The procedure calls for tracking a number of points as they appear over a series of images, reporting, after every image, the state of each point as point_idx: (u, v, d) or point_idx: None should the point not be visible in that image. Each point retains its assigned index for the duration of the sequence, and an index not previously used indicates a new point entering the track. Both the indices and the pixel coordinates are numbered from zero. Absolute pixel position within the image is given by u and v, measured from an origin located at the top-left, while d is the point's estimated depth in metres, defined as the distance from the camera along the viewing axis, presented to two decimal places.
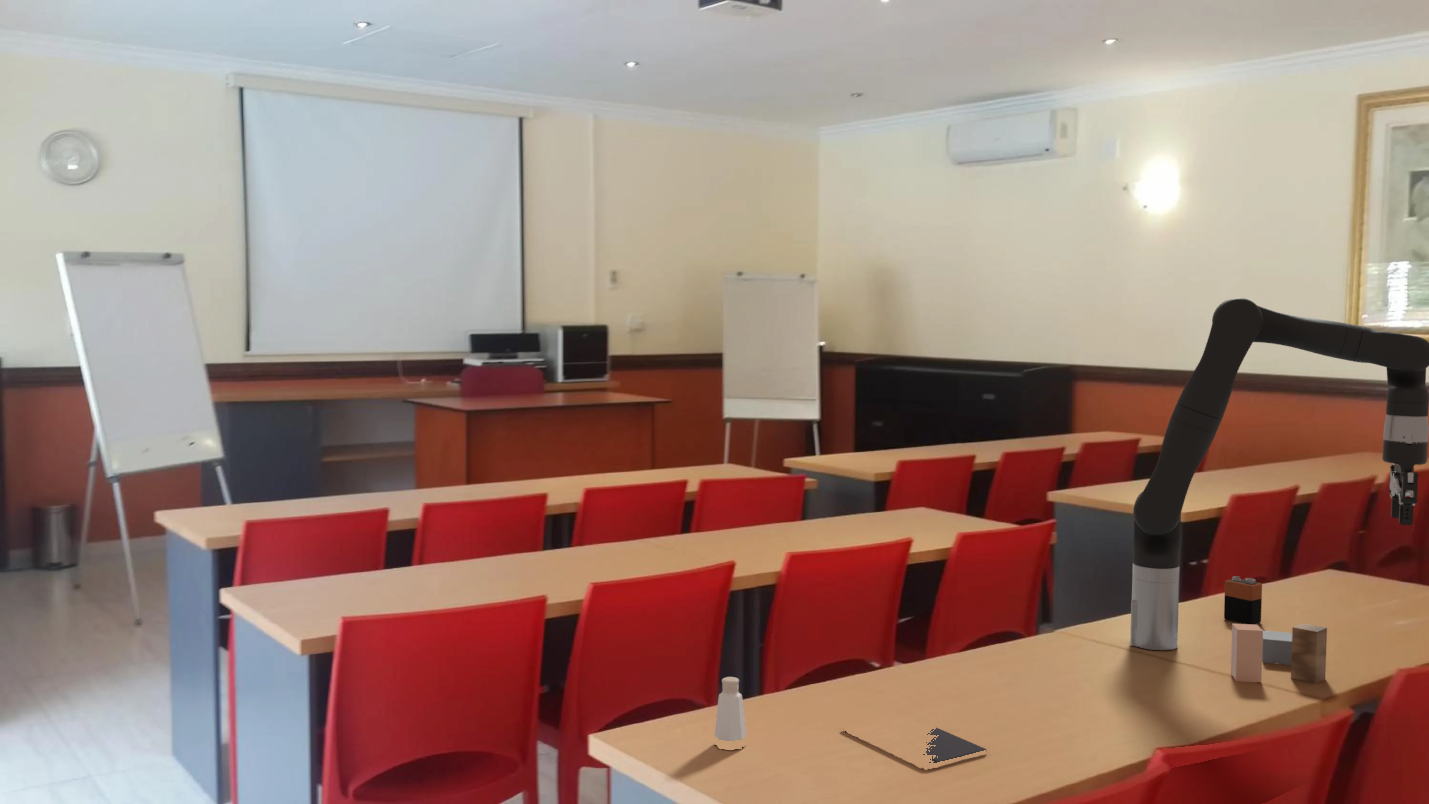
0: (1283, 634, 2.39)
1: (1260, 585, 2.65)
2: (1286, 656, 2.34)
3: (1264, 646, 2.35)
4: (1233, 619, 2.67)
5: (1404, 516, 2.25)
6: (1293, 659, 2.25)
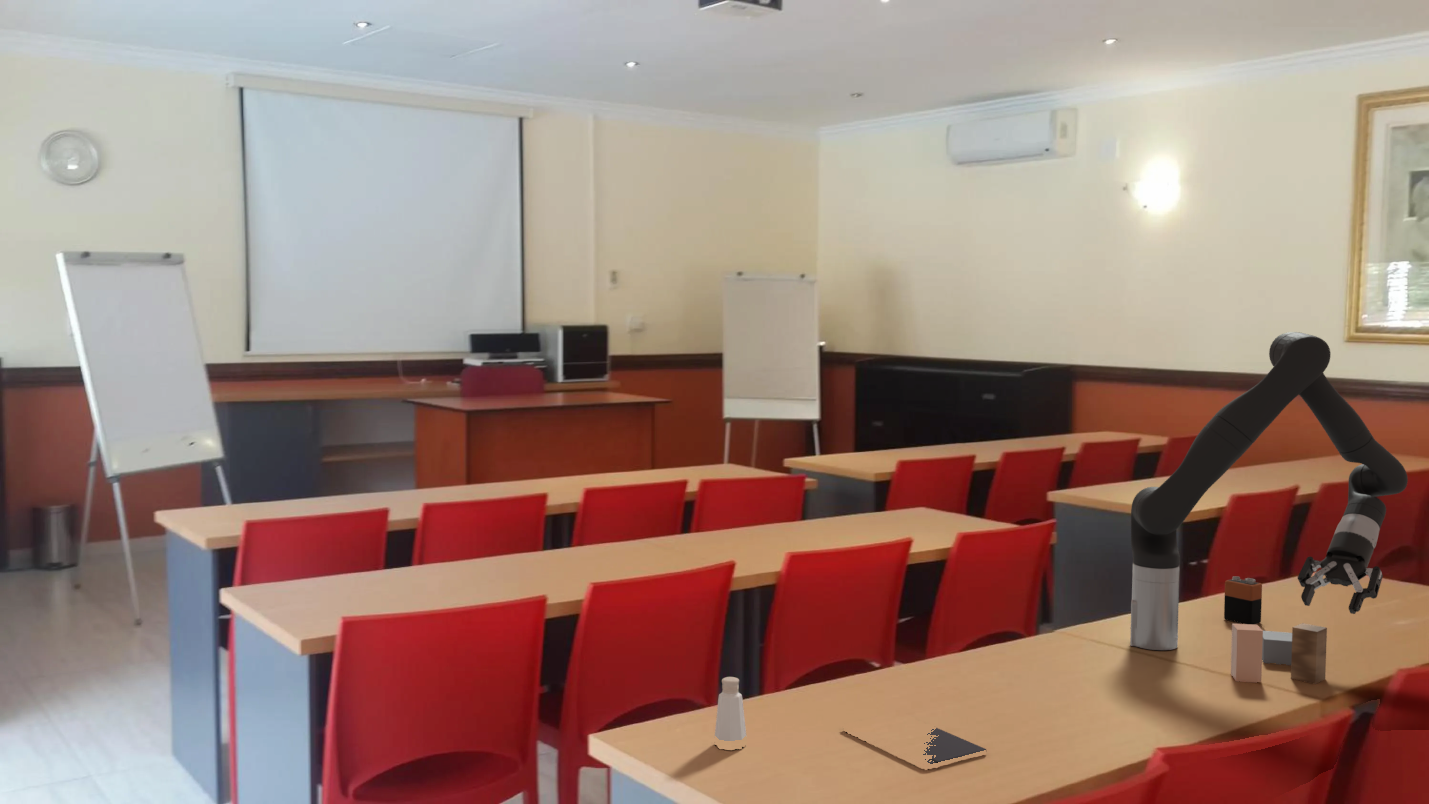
0: (1283, 634, 2.39)
1: (1260, 585, 2.65)
2: (1287, 656, 2.34)
3: (1265, 646, 2.35)
4: (1233, 619, 2.67)
5: (1359, 603, 2.26)
6: (1293, 659, 2.25)
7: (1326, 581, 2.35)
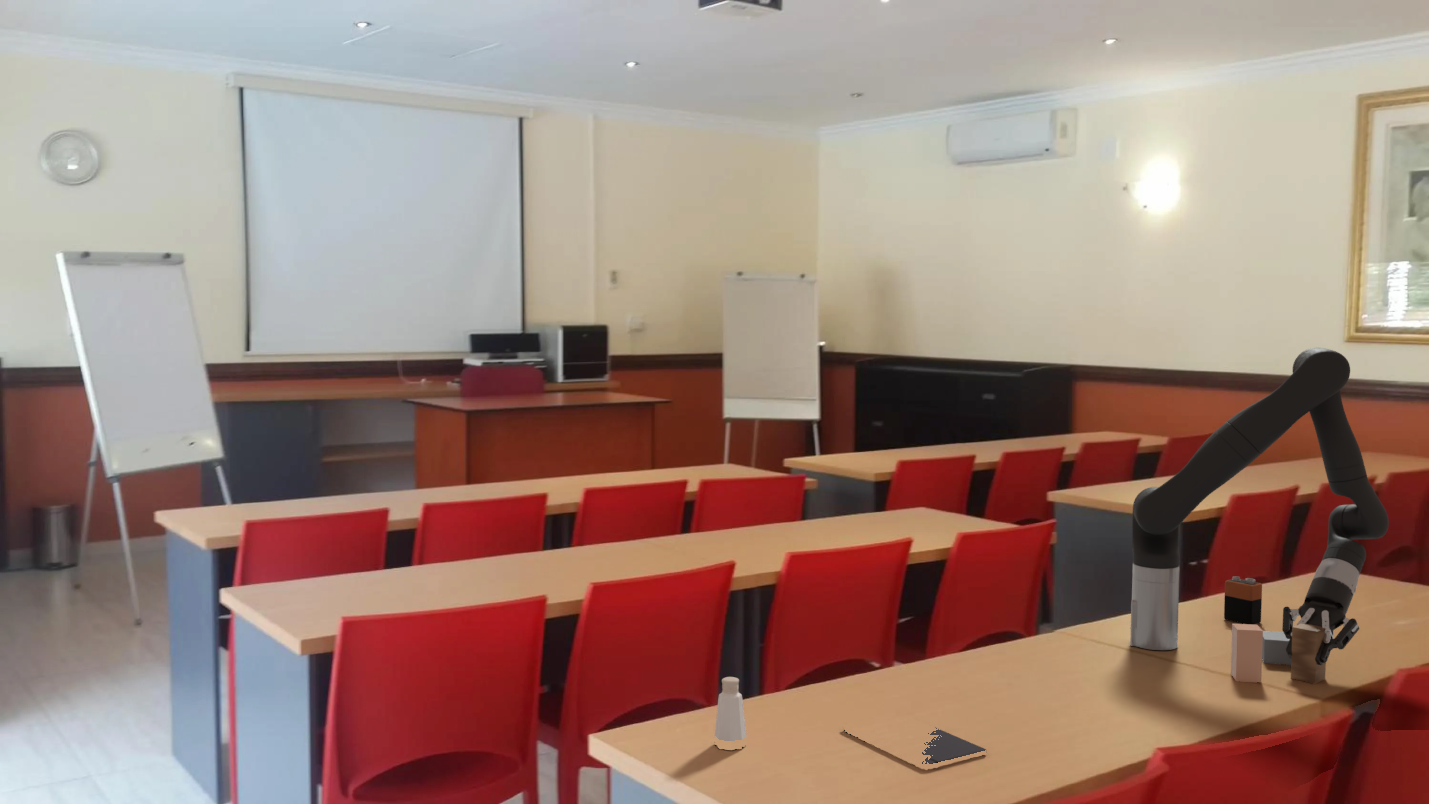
0: (1282, 634, 2.39)
1: (1260, 585, 2.65)
2: (1287, 656, 2.34)
3: (1265, 646, 2.35)
4: (1233, 619, 2.67)
5: (1326, 655, 2.21)
6: (1293, 659, 2.25)
7: None
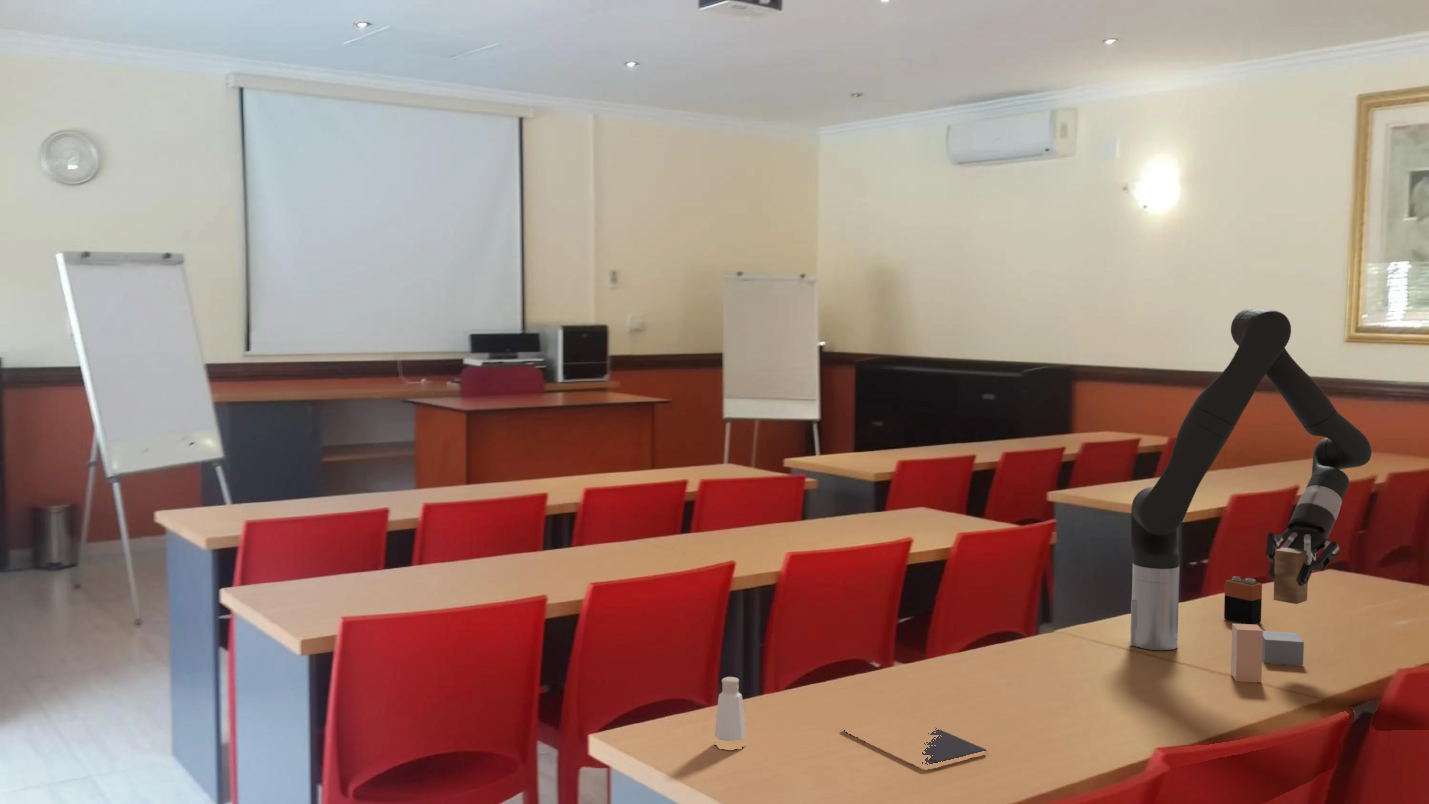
0: (1282, 634, 2.39)
1: (1260, 585, 2.65)
2: (1288, 656, 2.34)
3: (1266, 647, 2.35)
4: (1233, 619, 2.67)
5: (1307, 575, 2.29)
6: (1275, 581, 2.32)
7: None
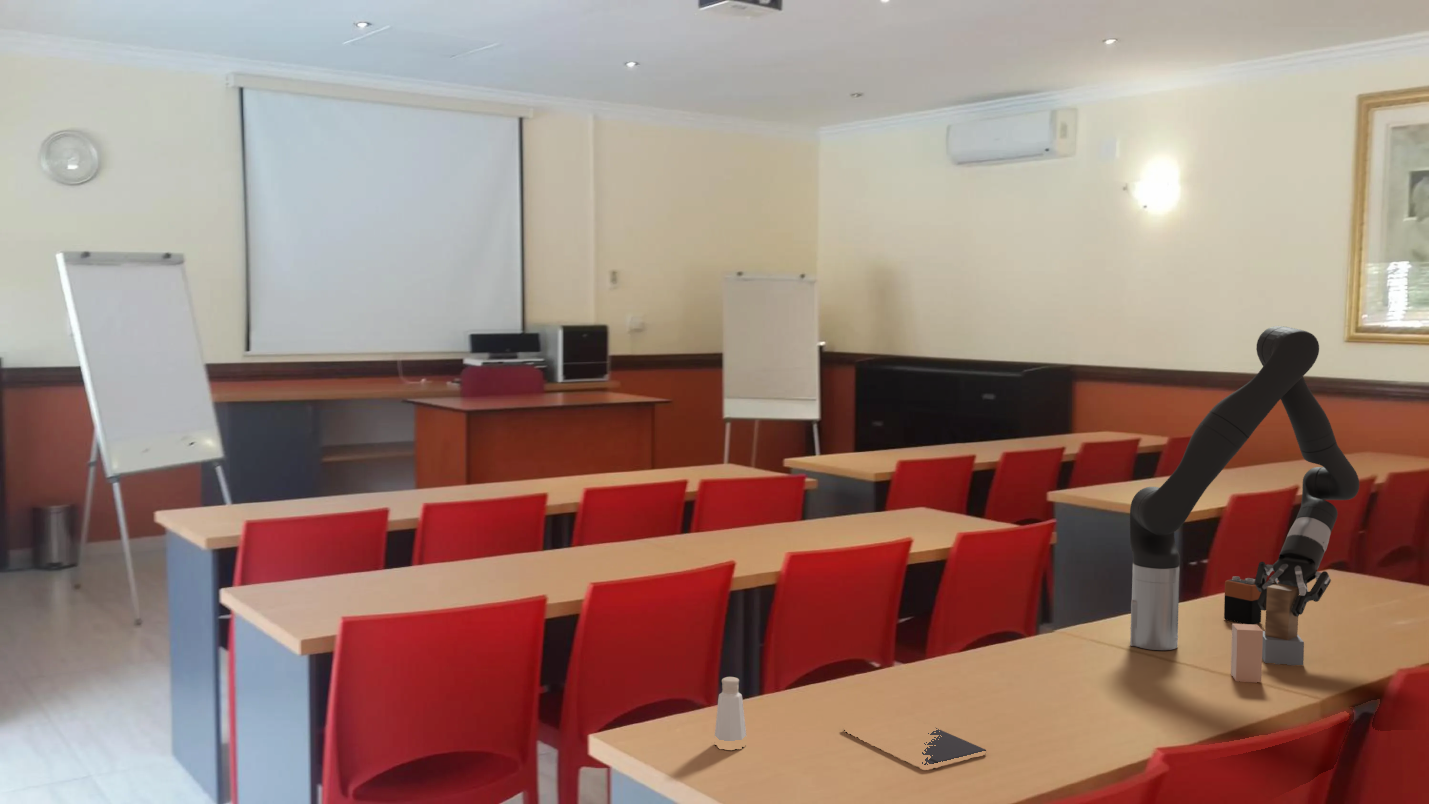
0: None
1: None
2: (1288, 656, 2.34)
3: (1266, 647, 2.35)
4: (1233, 619, 2.67)
5: (1302, 606, 2.33)
6: (1267, 617, 2.37)
7: None
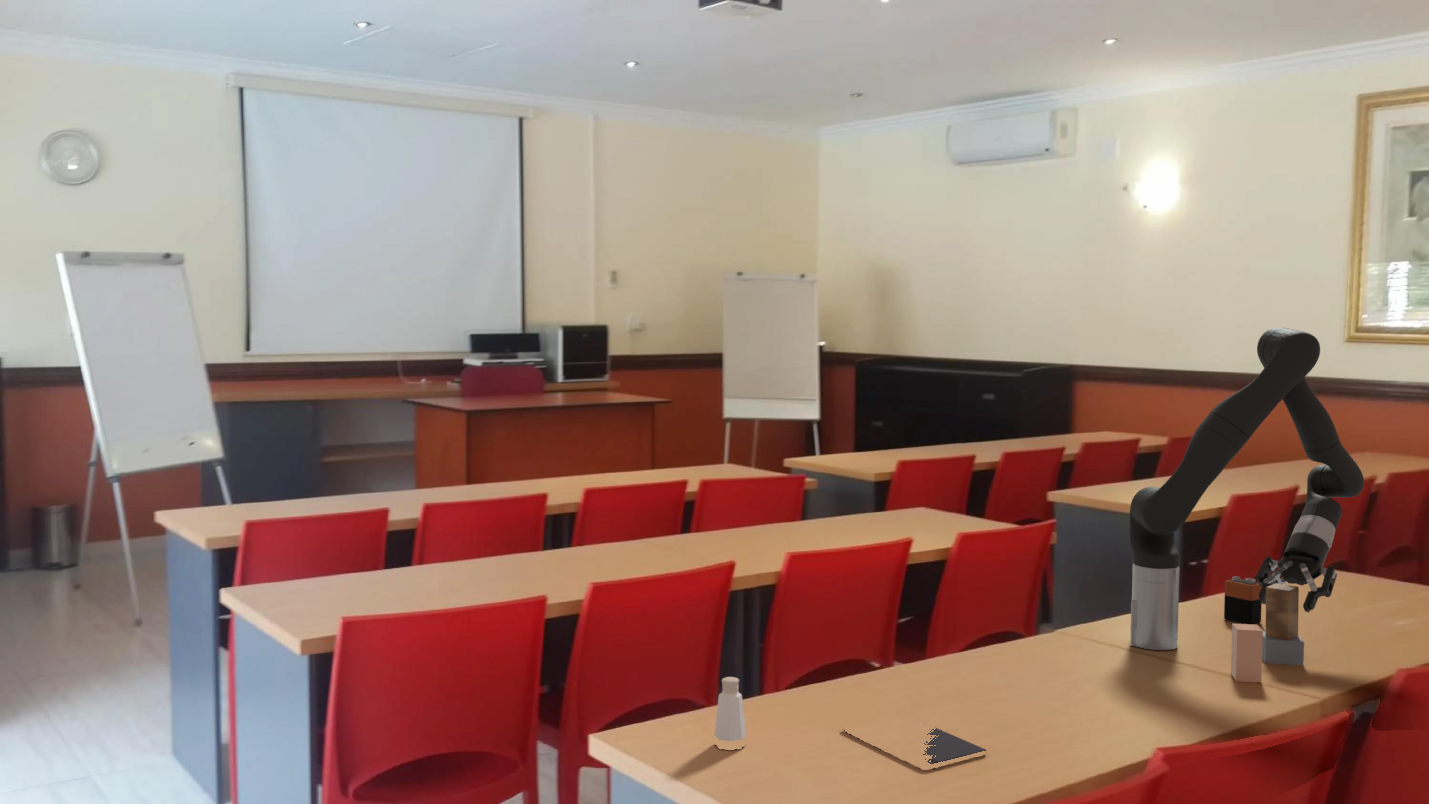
0: None
1: None
2: (1288, 656, 2.34)
3: (1266, 647, 2.35)
4: (1233, 619, 2.67)
5: (1313, 602, 2.34)
6: (1267, 618, 2.37)
7: (1283, 580, 2.43)
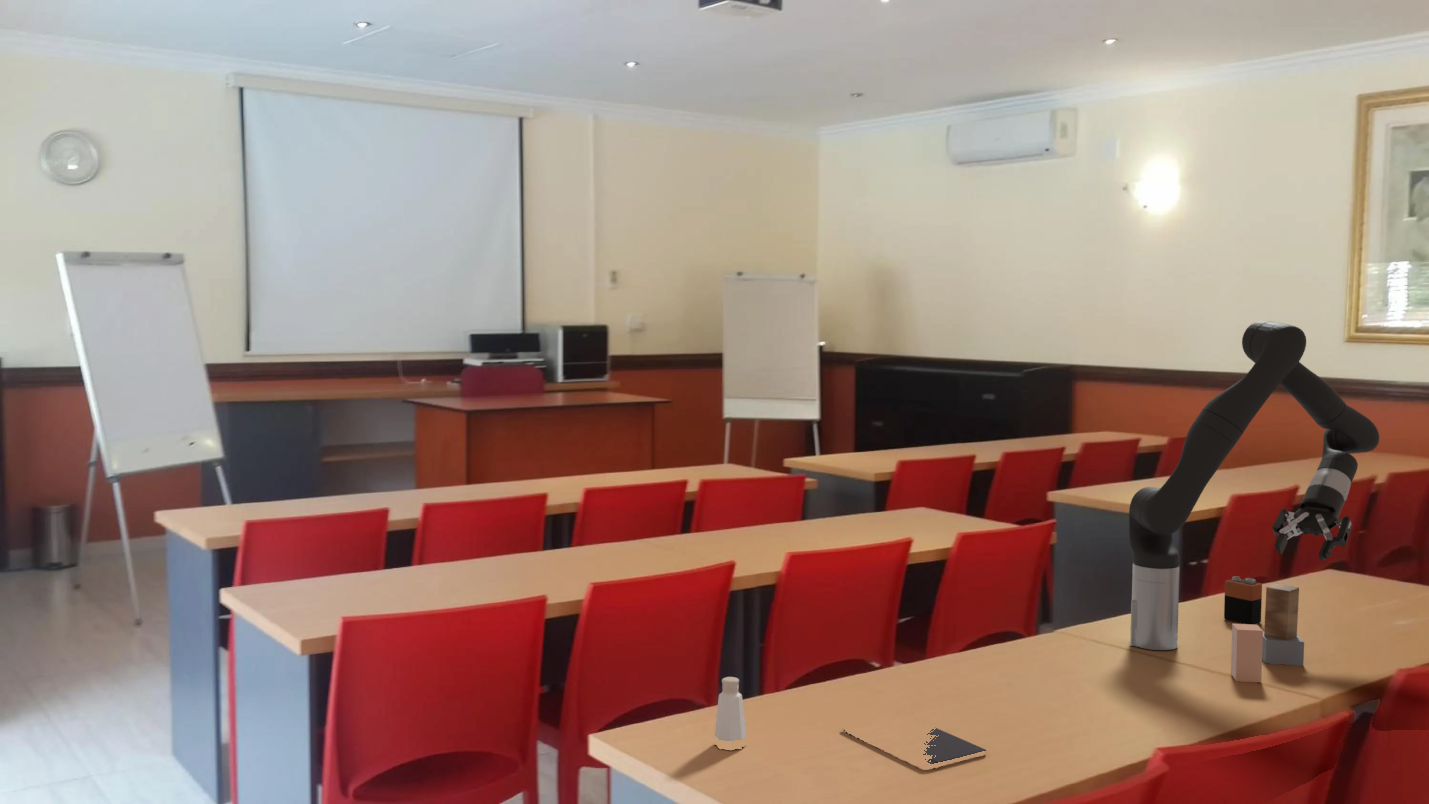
0: None
1: (1260, 585, 2.65)
2: (1288, 656, 2.34)
3: (1267, 647, 2.35)
4: (1233, 619, 2.67)
5: (1329, 551, 2.39)
6: (1266, 617, 2.37)
7: (1299, 531, 2.48)
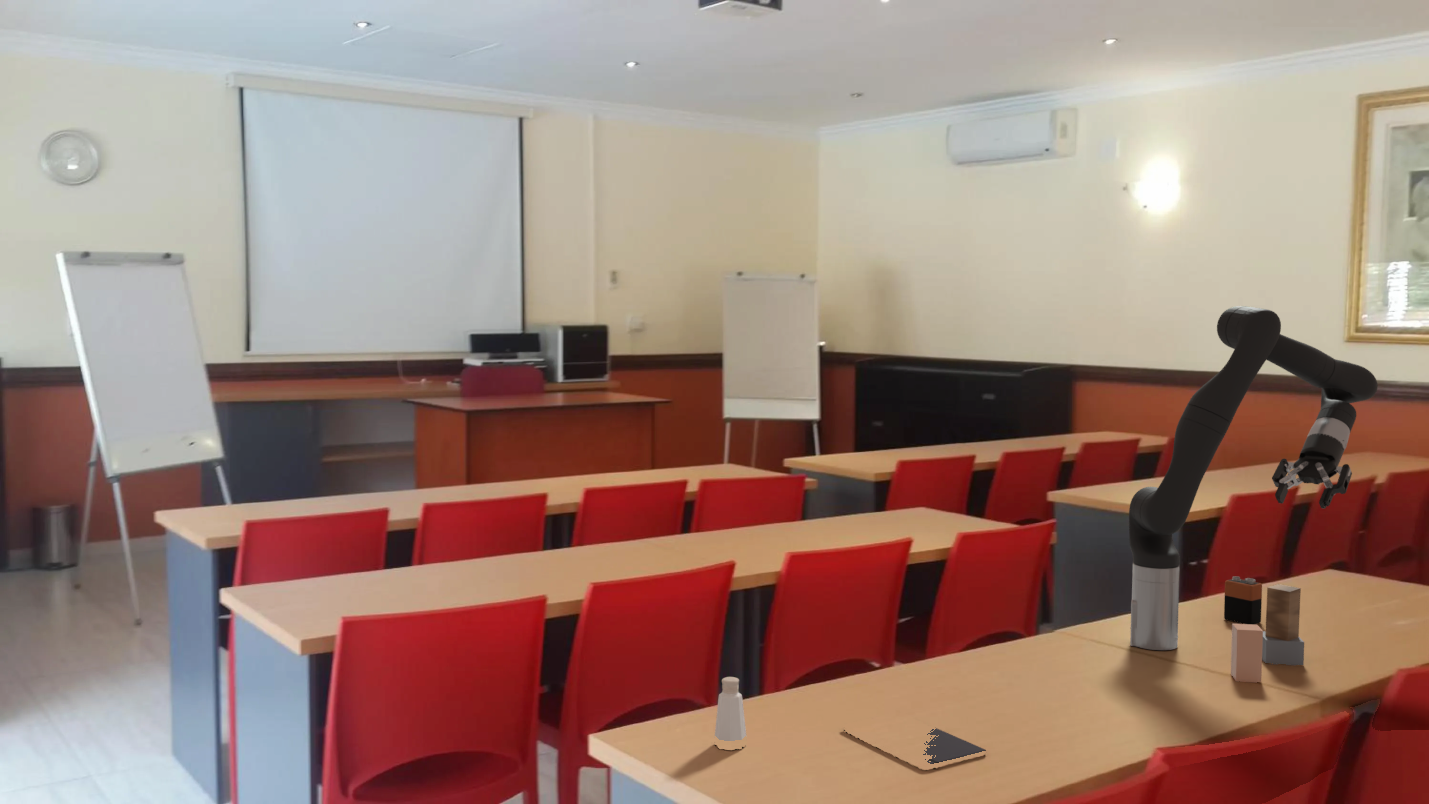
0: None
1: (1260, 585, 2.65)
2: (1289, 656, 2.34)
3: (1267, 647, 2.35)
4: (1233, 619, 2.67)
5: (1329, 498, 2.39)
6: (1267, 618, 2.37)
7: (1299, 481, 2.48)
